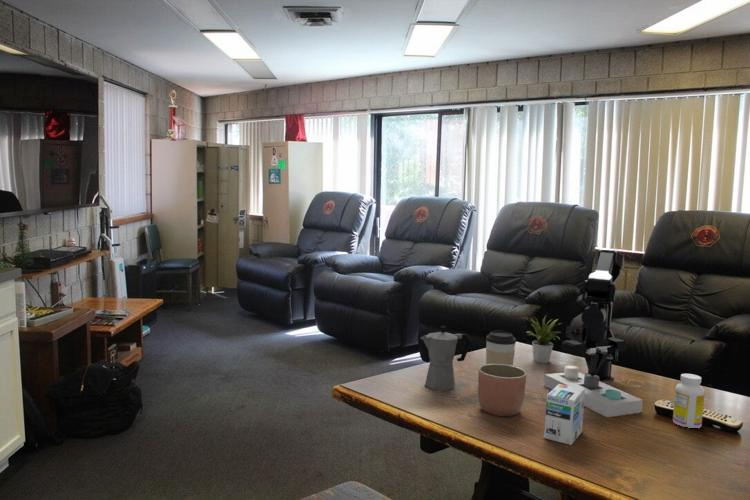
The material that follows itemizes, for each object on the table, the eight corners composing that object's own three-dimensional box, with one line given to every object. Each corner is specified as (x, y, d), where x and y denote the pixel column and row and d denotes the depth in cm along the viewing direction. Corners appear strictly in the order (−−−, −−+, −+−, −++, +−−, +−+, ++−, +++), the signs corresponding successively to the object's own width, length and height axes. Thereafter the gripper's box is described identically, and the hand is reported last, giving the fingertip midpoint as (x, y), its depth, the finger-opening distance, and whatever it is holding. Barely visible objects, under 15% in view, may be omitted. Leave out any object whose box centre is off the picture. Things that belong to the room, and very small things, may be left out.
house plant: (518, 364, 203) (521, 317, 202) (515, 353, 217) (518, 309, 215) (562, 368, 201) (565, 320, 199) (556, 357, 215) (559, 312, 213)
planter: (472, 414, 156) (474, 373, 155) (480, 399, 168) (483, 361, 167) (521, 422, 152) (523, 380, 151) (526, 406, 164) (529, 367, 162)
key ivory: (571, 378, 183) (572, 365, 182) (580, 382, 179) (581, 369, 178) (560, 379, 181) (561, 366, 181) (569, 383, 177) (570, 370, 177)
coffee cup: (516, 386, 181) (519, 337, 179) (485, 384, 181) (488, 335, 179) (510, 376, 190) (513, 329, 188) (481, 375, 190) (484, 328, 188)
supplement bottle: (698, 422, 157) (703, 374, 156) (703, 431, 151) (708, 381, 150) (670, 418, 160) (675, 370, 158) (674, 427, 153) (678, 378, 152)
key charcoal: (591, 387, 175) (592, 373, 174) (601, 391, 171) (602, 377, 171) (580, 388, 173) (581, 374, 173) (590, 392, 170) (591, 379, 169)
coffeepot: (422, 391, 172) (426, 330, 170) (414, 381, 181) (417, 322, 179) (474, 390, 175) (477, 329, 173) (463, 380, 184) (466, 322, 183)
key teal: (612, 402, 167) (613, 388, 167) (623, 407, 163) (624, 393, 163) (601, 404, 166) (602, 390, 165) (611, 409, 162) (613, 394, 162)
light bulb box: (571, 446, 139) (575, 400, 138) (542, 438, 143) (545, 394, 142) (582, 431, 148) (586, 388, 147) (555, 424, 152) (558, 383, 151)
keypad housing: (576, 382, 187) (576, 371, 186) (641, 412, 163) (642, 400, 162) (544, 385, 182) (545, 374, 182) (606, 417, 158) (607, 404, 158)
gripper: (601, 314, 181) (597, 364, 183) (550, 316, 174) (547, 369, 176) (630, 322, 171) (625, 376, 172) (577, 325, 164) (572, 381, 165)
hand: (592, 375), depth 172 cm, fingers closed
